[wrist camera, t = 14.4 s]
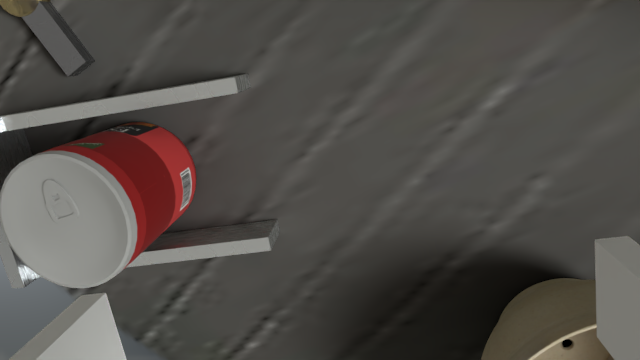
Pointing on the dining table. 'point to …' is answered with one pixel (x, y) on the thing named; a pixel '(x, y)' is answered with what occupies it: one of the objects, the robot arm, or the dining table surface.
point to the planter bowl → (549, 324)
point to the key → (52, 33)
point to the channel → (13, 148)
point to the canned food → (96, 202)
